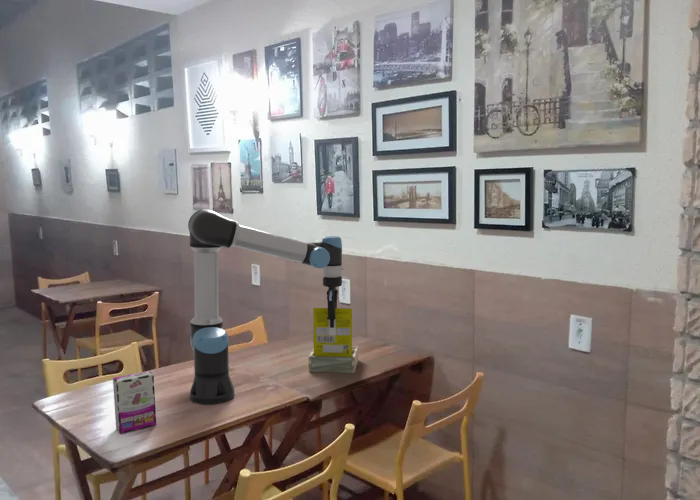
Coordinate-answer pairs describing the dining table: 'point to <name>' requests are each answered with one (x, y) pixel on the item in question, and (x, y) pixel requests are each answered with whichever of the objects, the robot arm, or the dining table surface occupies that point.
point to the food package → (333, 343)
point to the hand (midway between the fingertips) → (332, 334)
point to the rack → (334, 363)
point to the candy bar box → (134, 402)
